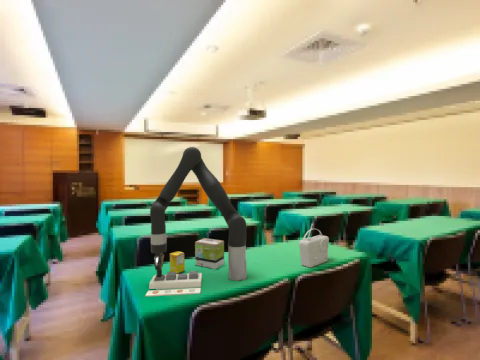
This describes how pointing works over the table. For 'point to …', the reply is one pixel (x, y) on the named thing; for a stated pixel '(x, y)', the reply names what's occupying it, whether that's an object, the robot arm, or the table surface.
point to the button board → (176, 283)
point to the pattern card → (173, 292)
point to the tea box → (209, 253)
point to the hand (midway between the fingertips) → (159, 276)
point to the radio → (313, 249)
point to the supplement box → (177, 262)
